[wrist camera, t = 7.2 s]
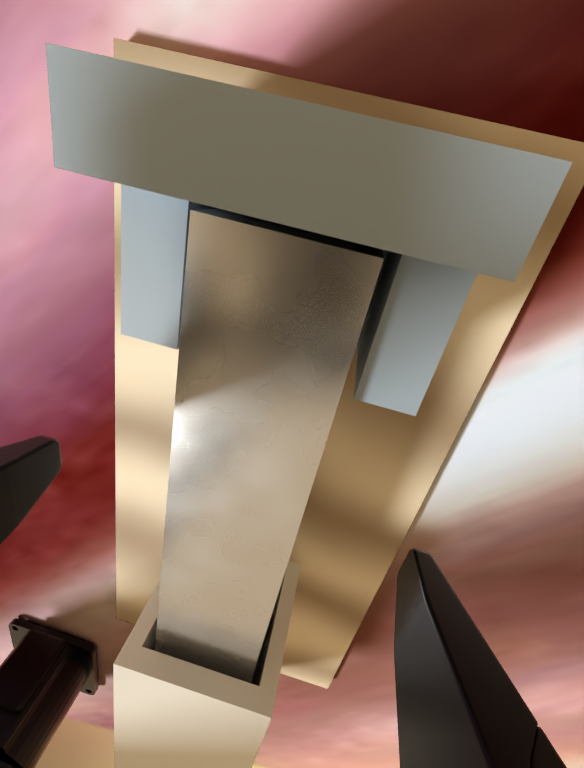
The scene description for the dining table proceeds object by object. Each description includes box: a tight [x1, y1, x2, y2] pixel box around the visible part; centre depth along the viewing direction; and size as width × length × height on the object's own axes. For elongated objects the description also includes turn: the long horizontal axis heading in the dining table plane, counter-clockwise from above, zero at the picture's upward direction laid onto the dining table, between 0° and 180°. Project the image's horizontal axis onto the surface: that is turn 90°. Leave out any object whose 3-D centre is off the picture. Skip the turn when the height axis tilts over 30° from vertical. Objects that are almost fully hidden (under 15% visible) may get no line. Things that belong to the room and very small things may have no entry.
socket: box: [46, 43, 572, 416], centre depth 10 cm, size 6×8×6 cm
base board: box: [114, 38, 584, 689], centre depth 17 cm, size 29×14×1 cm, turn 168°
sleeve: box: [113, 561, 301, 768], centre depth 19 cm, size 10×6×6 cm, turn 168°
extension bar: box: [155, 209, 384, 683], centre depth 13 cm, size 17×4×4 cm, turn 168°
